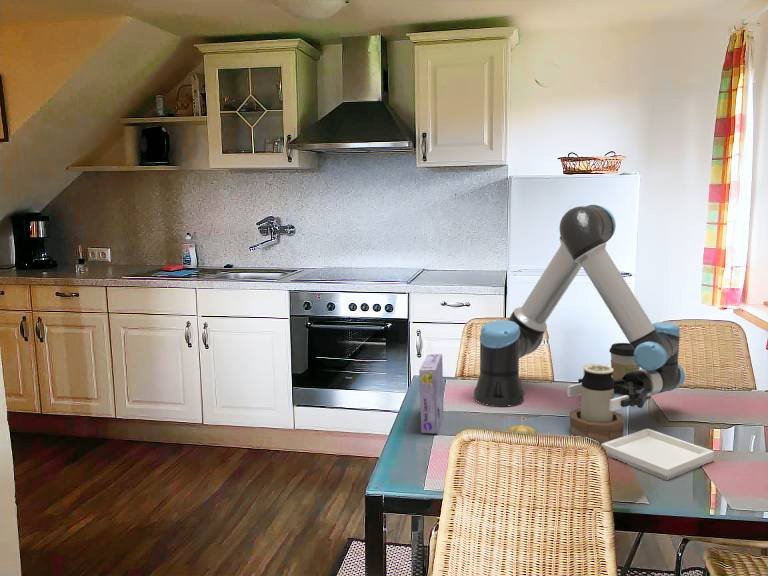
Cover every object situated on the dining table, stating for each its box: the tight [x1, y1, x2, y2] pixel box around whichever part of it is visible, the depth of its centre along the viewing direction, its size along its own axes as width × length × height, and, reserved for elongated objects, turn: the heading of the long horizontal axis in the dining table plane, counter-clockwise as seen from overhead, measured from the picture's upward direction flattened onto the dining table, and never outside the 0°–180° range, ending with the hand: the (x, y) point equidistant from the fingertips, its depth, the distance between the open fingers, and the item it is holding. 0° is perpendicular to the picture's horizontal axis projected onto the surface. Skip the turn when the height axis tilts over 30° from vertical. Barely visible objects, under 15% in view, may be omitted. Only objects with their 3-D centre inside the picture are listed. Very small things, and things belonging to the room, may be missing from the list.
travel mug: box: [580, 363, 615, 423], centre depth 175 cm, size 8×8×18 cm
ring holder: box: [569, 407, 625, 443], centre depth 176 cm, size 13×13×5 cm
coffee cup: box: [609, 342, 641, 397], centre depth 209 cm, size 10×10×15 cm
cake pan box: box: [418, 353, 445, 435], centre depth 185 cm, size 19×5×18 cm, turn 169°
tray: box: [600, 427, 715, 481], centre depth 161 cm, size 18×18×2 cm
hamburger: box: [506, 415, 538, 434], centre depth 155 cm, size 8×7×12 cm
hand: (588, 398), depth 173 cm, fingers open, 13 cm apart
